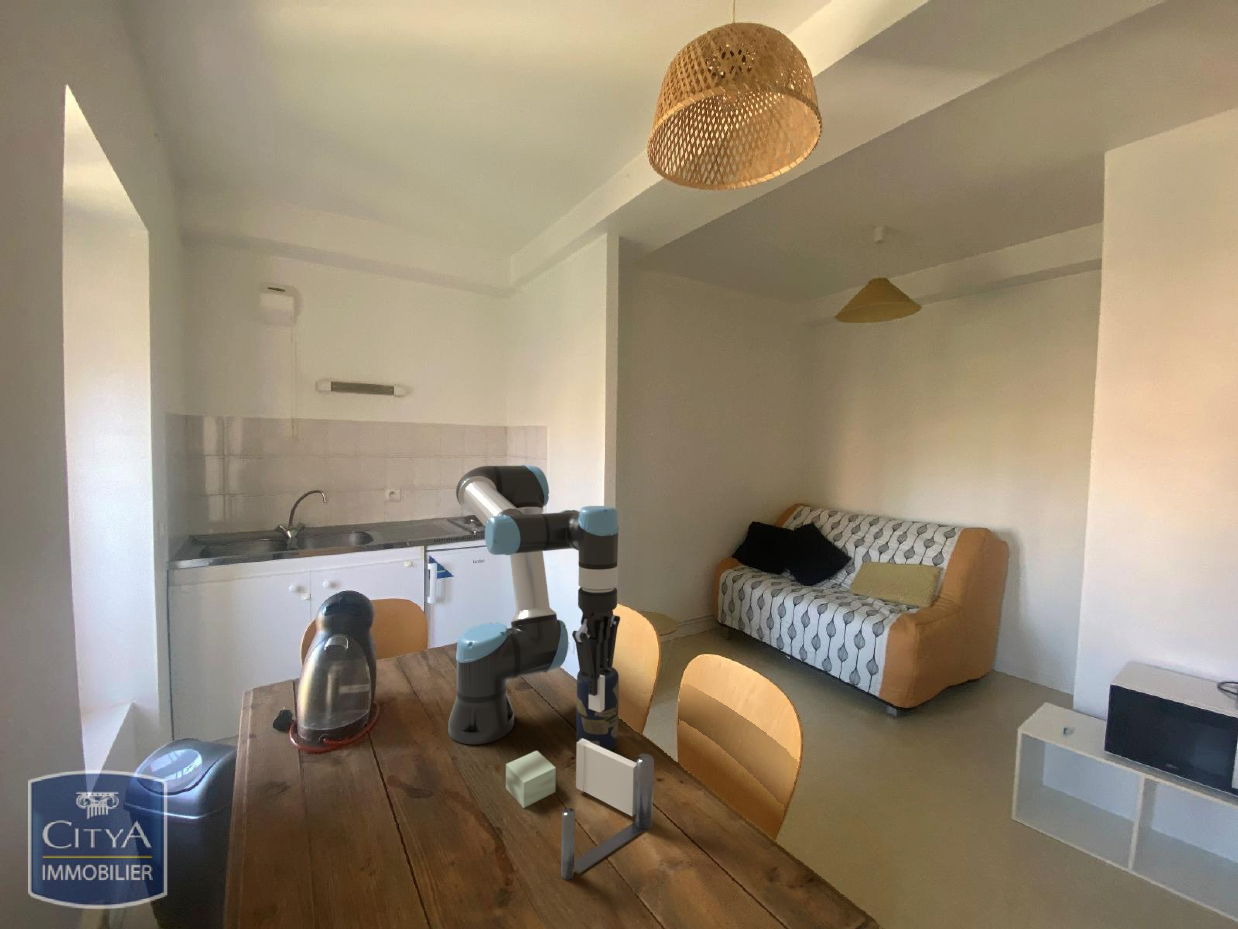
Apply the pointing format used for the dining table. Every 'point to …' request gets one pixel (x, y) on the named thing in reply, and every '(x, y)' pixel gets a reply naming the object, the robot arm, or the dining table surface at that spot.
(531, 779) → the pale green block
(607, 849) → the gate frame
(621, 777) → the gate
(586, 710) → the canister
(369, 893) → the dining table surface
